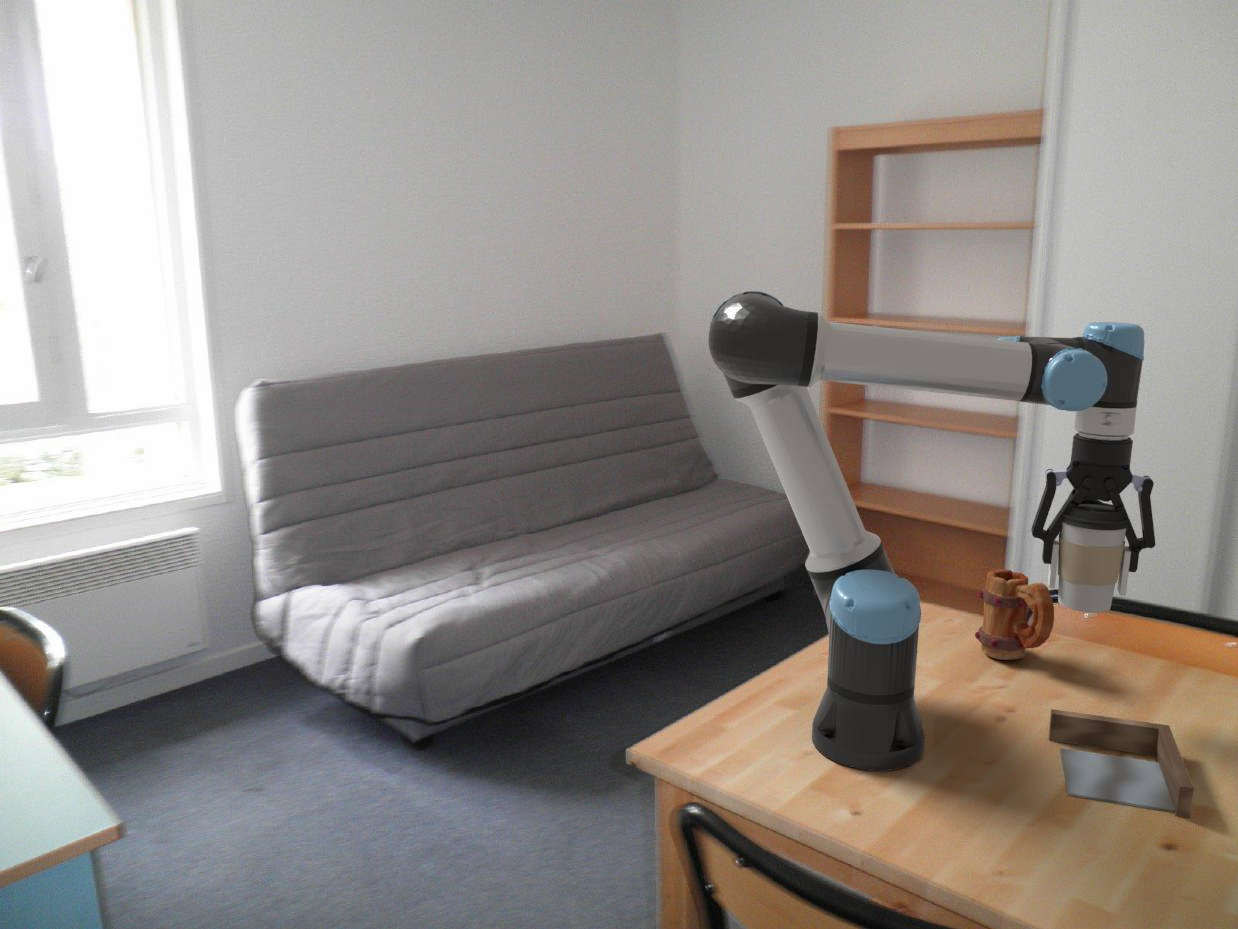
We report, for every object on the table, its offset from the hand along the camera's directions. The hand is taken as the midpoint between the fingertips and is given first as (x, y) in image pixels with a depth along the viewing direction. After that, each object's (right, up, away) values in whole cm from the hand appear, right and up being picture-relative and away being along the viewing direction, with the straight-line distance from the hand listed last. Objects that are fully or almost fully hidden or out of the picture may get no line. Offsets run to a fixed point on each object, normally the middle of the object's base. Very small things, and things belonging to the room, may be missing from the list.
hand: (1085, 588), depth 144 cm
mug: (-2, -15, +22) cm, 26 cm away
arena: (-2, -23, -13) cm, 26 cm away
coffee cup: (0, -3, +1) cm, 3 cm away
